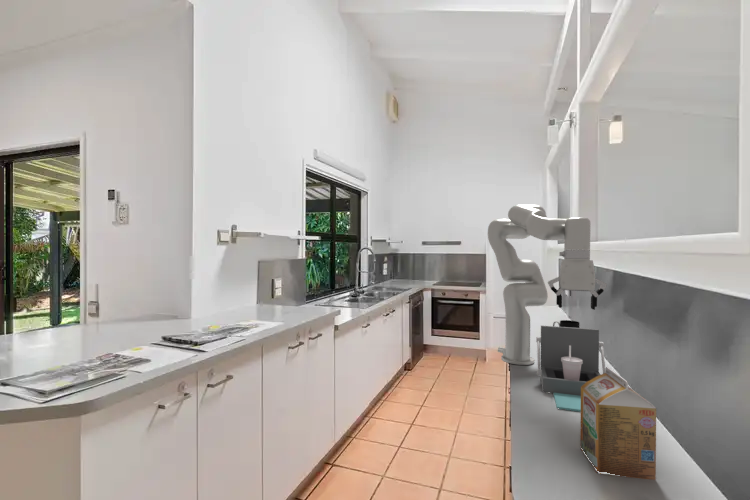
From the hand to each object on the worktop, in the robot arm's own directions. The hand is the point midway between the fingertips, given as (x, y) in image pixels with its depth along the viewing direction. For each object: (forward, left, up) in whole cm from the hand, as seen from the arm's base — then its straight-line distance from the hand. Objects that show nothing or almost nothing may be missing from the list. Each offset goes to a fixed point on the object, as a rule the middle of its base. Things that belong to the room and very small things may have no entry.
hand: (576, 308), depth 130 cm
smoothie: (-1, -1, -27) cm, 27 cm away
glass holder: (-21, +39, -27) cm, 52 cm away
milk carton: (+26, -40, -27) cm, 54 cm away
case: (-1, -1, -26) cm, 26 cm away
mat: (+6, -13, -26) cm, 30 cm away
